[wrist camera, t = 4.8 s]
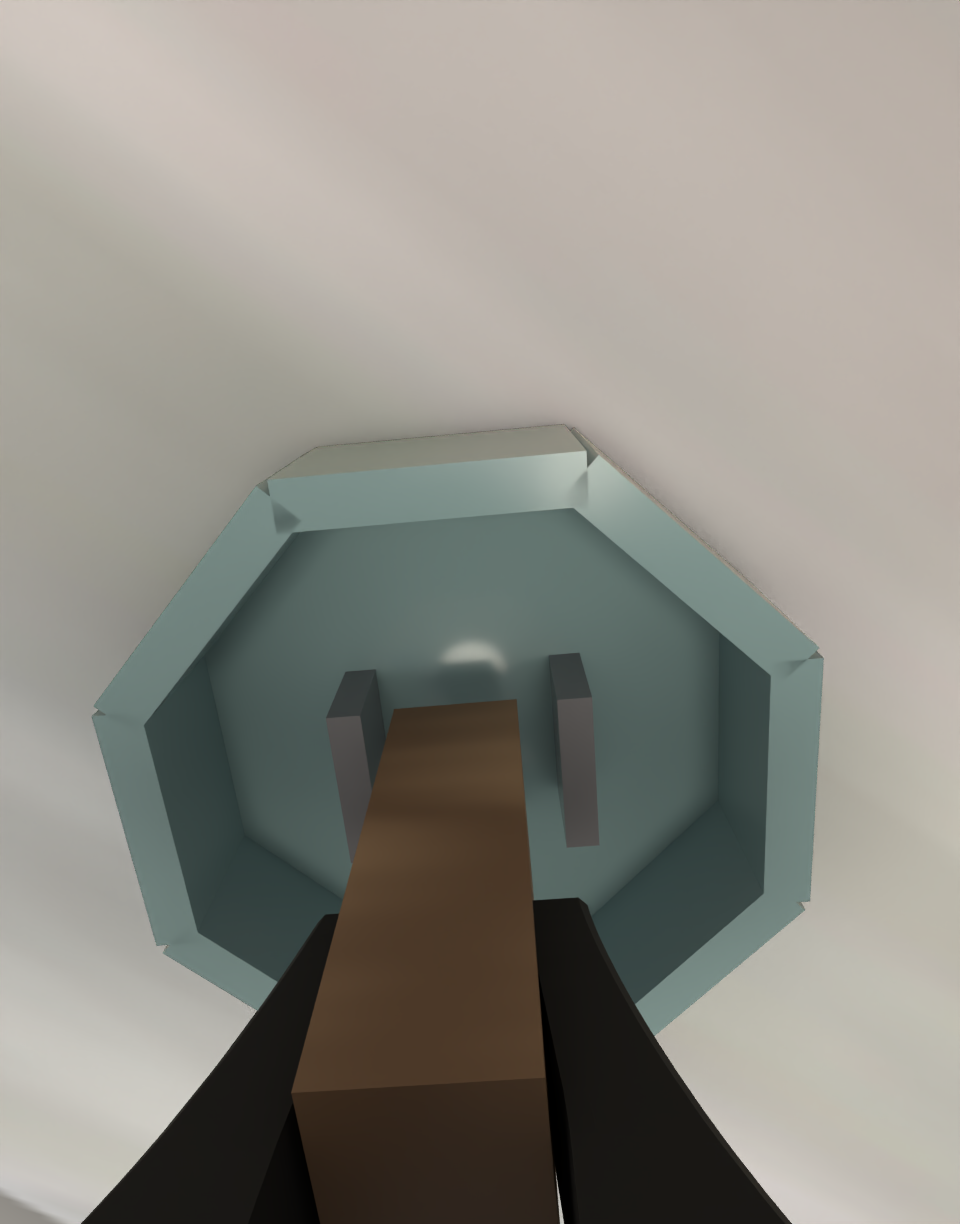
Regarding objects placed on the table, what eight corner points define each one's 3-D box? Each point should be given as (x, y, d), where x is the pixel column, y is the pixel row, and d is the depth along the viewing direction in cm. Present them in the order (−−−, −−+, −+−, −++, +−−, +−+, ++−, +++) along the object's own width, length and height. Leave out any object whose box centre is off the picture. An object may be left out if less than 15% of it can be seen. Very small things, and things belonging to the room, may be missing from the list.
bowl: (248, 956, 19) (197, 1089, 15) (132, 463, 15) (31, 501, 12) (744, 922, 18) (801, 1053, 15) (756, 406, 14) (836, 427, 11)
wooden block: (422, 912, 14) (362, 1413, 7) (393, 709, 13) (291, 1092, 6) (534, 904, 14) (574, 1403, 7) (516, 699, 13) (545, 1077, 6)
